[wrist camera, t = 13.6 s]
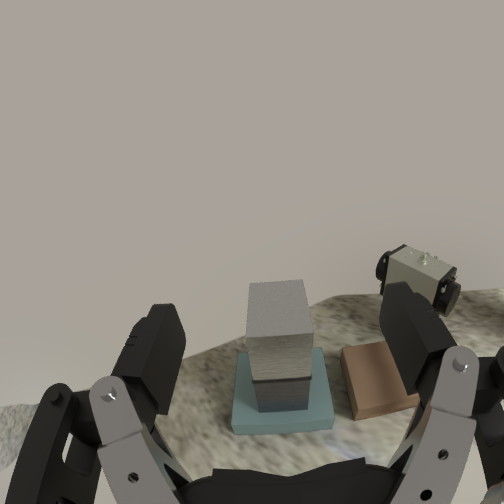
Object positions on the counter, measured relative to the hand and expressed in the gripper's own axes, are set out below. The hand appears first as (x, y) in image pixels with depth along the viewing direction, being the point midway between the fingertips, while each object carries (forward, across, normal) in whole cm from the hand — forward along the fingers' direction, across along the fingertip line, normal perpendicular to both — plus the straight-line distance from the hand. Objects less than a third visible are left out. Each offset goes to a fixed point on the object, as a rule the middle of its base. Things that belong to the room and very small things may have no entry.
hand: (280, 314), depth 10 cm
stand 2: (+9, -11, +21) cm, 26 cm away
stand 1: (+9, +1, +21) cm, 23 cm away
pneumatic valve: (+18, -18, +22) cm, 34 cm away
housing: (+9, 0, +18) cm, 21 cm away
